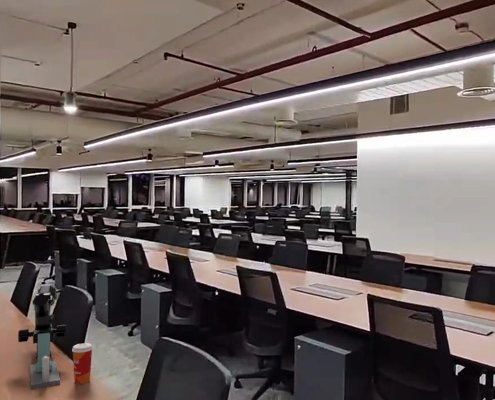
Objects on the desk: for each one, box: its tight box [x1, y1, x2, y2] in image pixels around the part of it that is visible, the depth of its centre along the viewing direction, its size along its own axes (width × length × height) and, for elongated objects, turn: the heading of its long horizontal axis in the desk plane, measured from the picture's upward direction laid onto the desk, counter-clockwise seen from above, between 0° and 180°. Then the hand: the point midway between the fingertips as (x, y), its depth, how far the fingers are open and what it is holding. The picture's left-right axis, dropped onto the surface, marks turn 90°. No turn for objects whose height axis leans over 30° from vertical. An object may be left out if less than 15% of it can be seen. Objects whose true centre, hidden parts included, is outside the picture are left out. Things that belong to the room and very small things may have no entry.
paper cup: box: [71, 342, 93, 385], centre depth 174 cm, size 8×8×14 cm
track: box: [29, 356, 61, 389], centre depth 179 cm, size 23×10×10 cm, turn 27°
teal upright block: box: [35, 333, 52, 372], centre depth 180 cm, size 9×6×14 cm, turn 27°
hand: (43, 351), depth 184 cm, fingers closed, pressing on teal upright block
